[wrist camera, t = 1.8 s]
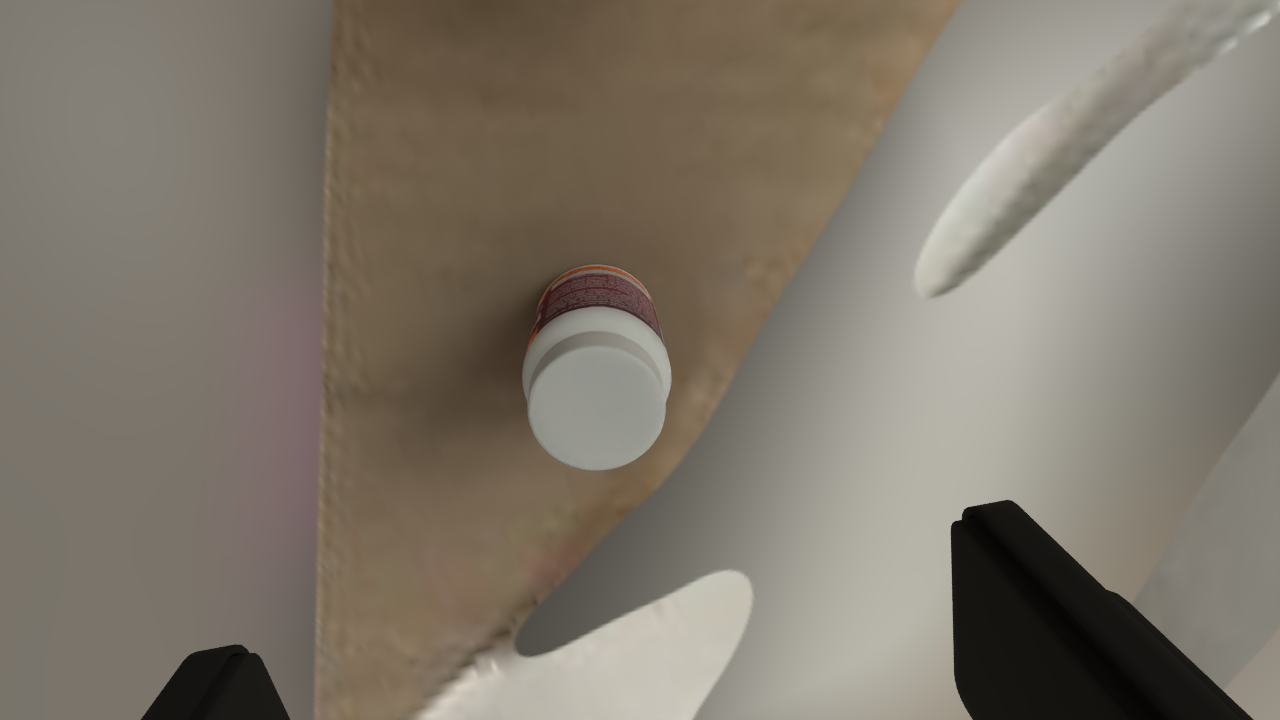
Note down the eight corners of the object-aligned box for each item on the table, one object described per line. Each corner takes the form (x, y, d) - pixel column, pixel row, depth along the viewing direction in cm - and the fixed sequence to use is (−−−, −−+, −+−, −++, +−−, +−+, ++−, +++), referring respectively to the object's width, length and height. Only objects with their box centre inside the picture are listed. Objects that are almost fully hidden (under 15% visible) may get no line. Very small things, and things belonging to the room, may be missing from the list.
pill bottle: (519, 282, 27) (488, 360, 20) (637, 247, 27) (654, 312, 19) (558, 389, 29) (543, 501, 21) (669, 358, 29) (696, 459, 21)
